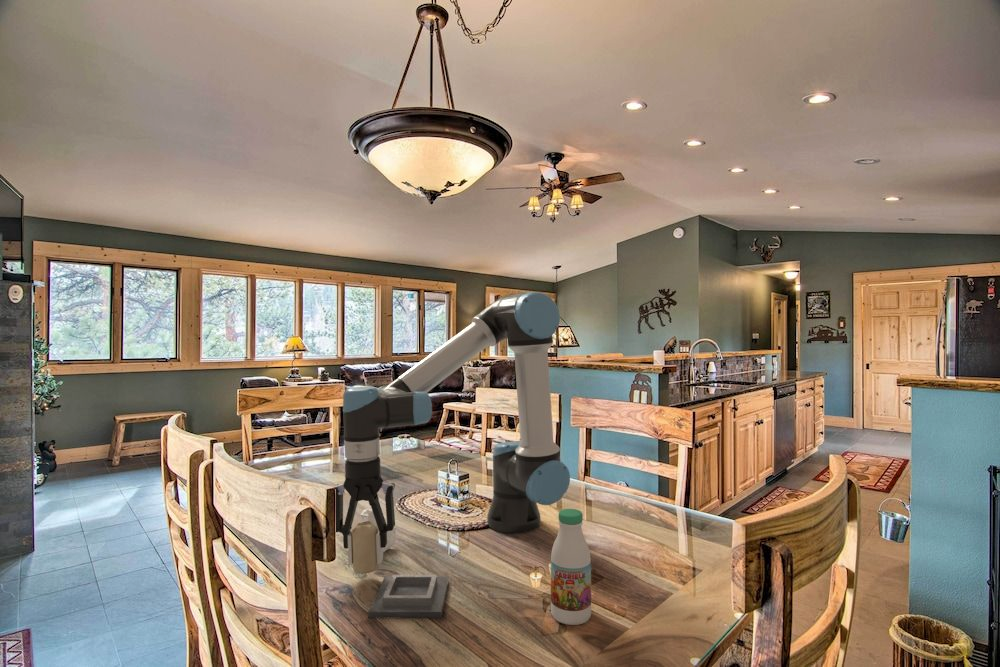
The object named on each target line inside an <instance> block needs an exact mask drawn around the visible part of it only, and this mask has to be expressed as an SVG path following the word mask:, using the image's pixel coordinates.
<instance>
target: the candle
mask: <svg viewBox="0 0 1000 667" xmlns="http://www.w3.org/2000/svg"><path fill="white" fill-rule="evenodd" d="M351 531H352V544H353V564H352V568H353V571H354V573H356V574H361V575H362V574H365V575H366V574H370V573H373V572H375V571H377V570H378V569H379V566H380V564H377V548H376V534H377V533H378V528H377V527H376V526H375V525H374V524H373V523H372V522H371V521H364V522H362V523H361V522H358V523H357V524H356V526H355V527H354V528H353V529H352V530H351Z"/></svg>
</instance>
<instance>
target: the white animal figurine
mask: <svg viewBox="0 0 1000 667" xmlns="http://www.w3.org/2000/svg"><path fill="white" fill-rule="evenodd" d="M358 517H359V518H360V519H361V520H360V523H362V522H364V521H371V522H372V523H373V524H374V525H375V526H376V527H377V528H378V526H377V523H376V520H375V517H374V514H373V511H372V508H371V507H367V508H365V509H364V510H362V512H361V513H360V514H359V515H358ZM378 531H379V529H378ZM396 536H397V533H396V528H395V527H394V528H393V530H392V531H388V532H387V545H386V547H385V548H383V552H384V553H385V552H386V551H387V550H389V549H391V548H392V547H394V545H395V542H396V541H397V540H396V539H397V537H396Z"/></svg>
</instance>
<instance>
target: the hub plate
mask: <svg viewBox="0 0 1000 667" xmlns="http://www.w3.org/2000/svg"><path fill="white" fill-rule="evenodd" d="M449 578H450V577H449V576H438V575H437V574H392V576H384V577H383V580H382V582H381V584H380V586H379V588H378V590H377V591H376V595H375V596H374V599H373V601H372V602H371V605H370V607H369V609H368V611H367V618H368V619H441V618H442V615H443V610H444V607H443V606H445V602H446V597H447V591H448V586H449V582H450V579H449Z"/></svg>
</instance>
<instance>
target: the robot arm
mask: <svg viewBox="0 0 1000 667" xmlns="http://www.w3.org/2000/svg"><path fill="white" fill-rule="evenodd" d="M560 321H561V314H560V310H559V307H558V305H557V304H556V302H555V301H554V300H553V299H552V298H551V297H550V296H549V295H548V294H546V293H544V292H539V291H538V292H537V291H526V292H521V293H513V294H506V295H504V296H501V297H500V298H498V299H496V300H495V301H494V302H492V303H490V304H489V305H488V306H487V307H486V308H484V309H483V310H482V311H480V312H479V313H478V314H476V315H475V316H474V317H473V318H471V324H469V325H468V326H466V327H465V328H464V329H462V330H461V331H460V332H458V333H457V334H456V335H453V337H451V338H450V339H449V340H447V341H446V342H445V343H443V344H442V345H441V346H440V347H438V348H437V349H436V350H433V352H431V353H430V354H429V355H426V357H425V358H423V359H422V360H420V361H419V362H417V363H416V364H415V365H414V366H412V367H411V368H409V369H408V370H407V371H405V372H404V373H403V374H401V375H400V376H398V377H397V378H396V379H394V380H393V381H392V382H390V383H389V384H388V385H383V386H379V387H378V388H377V387H375V386H355V387H349V388H347V389H346V390H345V391H344V392H343V397H342V398H343V400H342V402H343V403H342V414H343V416H342V417H343V437H344V438H343V439H344V440H343V441H344V442H343V443H344V458H345V459H346V460H345V461H344V472H345V475H344V476H345V480H344V482H343V483H341V484H339V483H338V484H335V486H333V487H334V488H335V489H336V532H335V533H339V534H340V533H341V535H342V540H343V543H342V544H343V549H344V550H345V549H346V550H347V555H348V556H347V560H348V562H347V563H348V566H353V544H352V531H353V530H352V528H353V527H352V526H353V522H354V518H355V515H356V510H357V506H358V502H360V501H364V502H368V504H369V506H370V508H371V509H372V511H373V514H374V517H375V520H376V523H377V526H378V529H379V531H378V533H377V534H376V548H377V564H379V565H381V564H382V562H383V561H384V553H383V548H385V547H386V545H387V532H388V531H392V530H393V528H395V526H396V518H395V517H396V516H395V504H394V502H395V501H394V491H395V487H396V484H395V483H394V482H391V483H387V482H384V480H383V479H382V475H381V474H382V473H381V458H380V456H379V455H380V454H381V449H380V448H381V447H380V446H381V445H380V443H381V442H380V429H381V430H382V429H389V428H397V427H407V426H408V427H409V426H418V425H422V424H427V423H428V422H430V420H431V418H432V413H433V405H432V400H431V397H430V394H429V392H430V391H431V390H432V389H434V388H435V387H436V386H438V385H439V384H440V383H441V382H443V381H444V380H445V379H447V378H448V377H449V376H451V375H452V374H453V373H455V372H456V371H457V370H458V369H460V368H461V367H463V366H464V365H466V364H467V362H469V361H471V360H472V359H473V358H474V357H476V356H477V355H478V354H479V353H481V352H482V351H484V350H485V349H487V347H495V346H496V345H497V344H498V343H500V342H502V341H505V340H507V347H508V349H510V350H511V351H513V353H514V366H515V367H514V369H515V379H516V380H515V381H516V382H515V383H516V398H517V410H518V422H519V423H518V424H519V437H520V439H519V440H517V441H515V440H514V441H505V442H500V443H497V444H495V445H494V447H493V450H492V468H493V469H492V476H493V477H492V480H493V482H492V484H493V485H492V488H493V489H492V490H493V492H492V493H493V494H492V495H493V496H492V499H491V502H490V506H489V509H488V512H487V517H486V518H487V521H486V522H487V523H488V524H487V526H488V525H489V526H488V527H489V528H490V529H491V530H494V531H497V532H501V533H506V534H507V533H508V534H522V533H528V532H531V531H535V530H537V529H538V528H540V526H541V513H540V510H539V508H538V504H539V505H542V506H550V505H554V504H557V502H558V501H560V500H561V499H562V498H563V496H564V495H565V494H566V493H567V491H568V489H569V487H570V482H571V474H570V470H569V468H568V466H566V465H565V463H564V462H562V460H561V459H562V458H561V448H560V446H559V445H558V444H556V442H555V441H554V430H553V428H554V427H553V414H552V400H551V399H552V398H551V385H550V384H551V383H550V381H551V380H550V367H549V354H548V353H549V352H548V351H549V349H550V348H551V346H552V345H553V344H554V337H553V335H555V333H556V331H557V329H558V328H559V326H560ZM381 489H382V490H383V491H382V492H383V493H384V494H385V495H384V496H385V497H384V500H385V516H386V518H385V516H384V513H383V512H384V511H383V510H382V506H381V503H380V499H379V494H378V493H379V491H380V490H381ZM345 490H346V492H347V493H348V495H349V496H350V500H349V503H348V509H347V511H346V512H347V513H346V517H345V521H344V493H345Z"/></svg>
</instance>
